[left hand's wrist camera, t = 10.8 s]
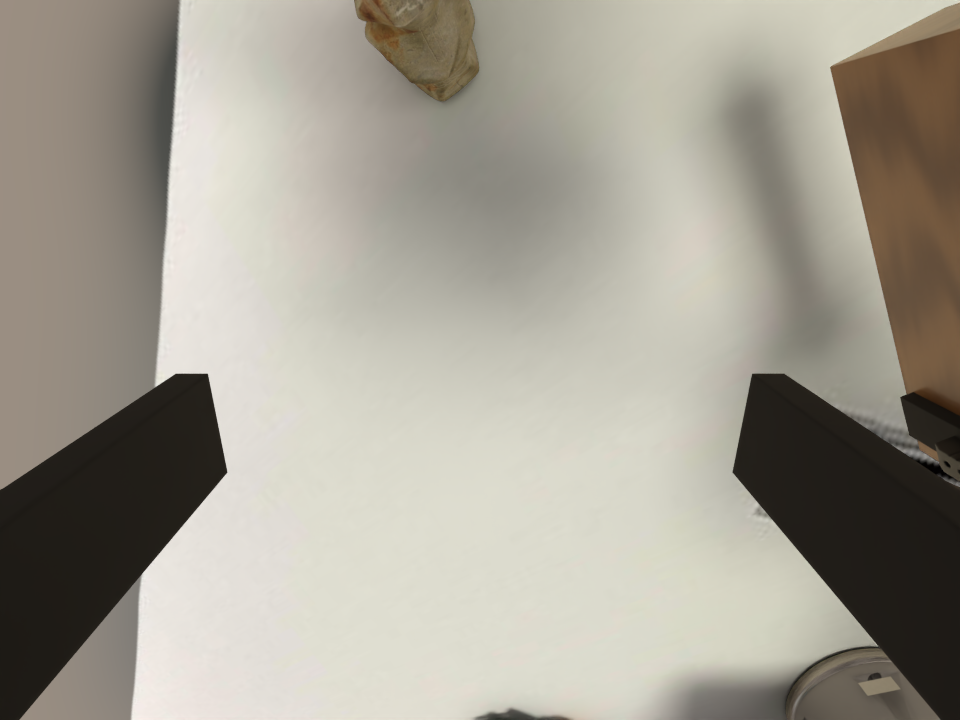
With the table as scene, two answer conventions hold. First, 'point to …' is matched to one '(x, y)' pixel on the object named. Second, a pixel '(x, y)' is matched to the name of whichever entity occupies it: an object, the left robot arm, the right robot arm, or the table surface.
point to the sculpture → (424, 41)
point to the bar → (912, 191)
